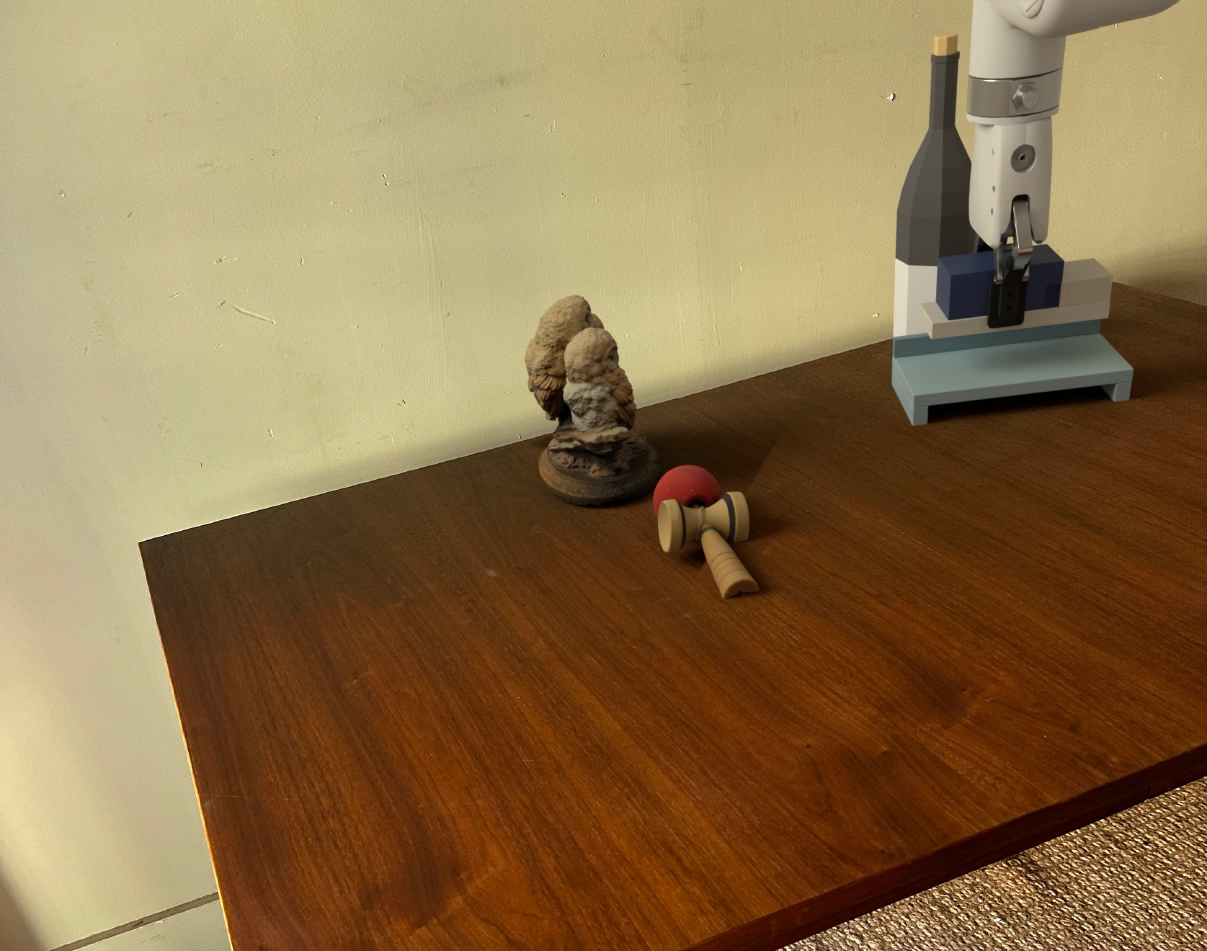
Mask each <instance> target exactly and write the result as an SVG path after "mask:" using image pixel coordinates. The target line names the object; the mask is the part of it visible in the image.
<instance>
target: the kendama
mask: <svg viewBox="0 0 1207 951" xmlns="http://www.w3.org/2000/svg"><path fill="white" fill-rule="evenodd" d="M652 507H653V512H654V515H655V517H656V519H657V529H658V537H659V542H660V546H661V549H662V550H663V552H664V553H666V554H677V553H679V551H681V549H683V548H684V546H686V545H687V544H688V543H690V542H693V541H697V542H701V546H702V549H703V553H704V556H705V559H706V562H707V564H708V567H709V569H710V571H711V574H712V577H713V579H714V581H715V583H716V585H717V588H718V589H719V592H720V595H721V598H722V599H723V600H726V599H728V598H730V597H733V596H735V595H738V593H739V594H741V593H743V594H744V593H749V592H750V593H751V592H753V593H755V592H756V593H757V592H760V587H759V585H758V583H757V581H755V579H754V578H753V576H751V574H750V573H749V571H748V570H747V569H746V567H745V566H744V564H743V563H742V561H741V560H740V559H739V557H738V556H737V554H736V552H734V550H733V549H732V548H731V546H730V545H729V543H728V542H731V543H740V542H745V541H747V540H748V539H749V534H750V512H749V506H748V504H747V499H746V497H745V496H744V494H743V493H742V492H741V491H727V492H725V493H724V494H723V493H722V490H721V486H720V484H719V483H718V480H717V479H716V478H715V477H714V475H713V474H712V473H711V472H710V471H708V470H707V469H705V468H703V467H701V466H697V465H693V464H684V465H679V466H676V467H674V468H672V469H670V470H669V471H667V472H666V473H664V474H663V476H662V477H661V478H659V480H658V481H657V483H656V485H655V489H654V492H653V498H652Z"/></svg>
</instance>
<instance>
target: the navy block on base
mask: <svg viewBox="0 0 1207 951" xmlns="http://www.w3.org/2000/svg"><path fill="white" fill-rule="evenodd" d="M1008 256H1012V252H1006V253H1003V266H1004V264H1005V261H1006V259H1007V257H1008ZM1029 260H1030V265H1029V277H1028V283H1027V293H1026V304H1025V314H1024V322H1023V323H1022V324H1021V325H1018V326H1010V327H1001V328H993V329H991V328H989V327H988V325H987V315H988V302H989V289H990V282H994V251H987V252H979V253H971V254H963V255H956V256H948V257H940V258H938V264H937V284H936V301H934V302H926V303H920V304H919V320H920V322H921V323H922V325H923V327H924V328H925V330H926V331H927V333H928V335H929V336H930V338H931V339H940V338H949V337H957V336H965V335H973V334H981V333H989V332H998V331H1006V330H1014V329H1022V328H1030V327H1038V326H1047V325H1055V324H1063V323H1071V322H1079V321H1087V320H1096V319H1101V320H1103V319H1109V315H1110V307H1111V295H1112V289H1113V283H1114V282H1113V280H1114V274H1112V273H1111V272H1110V271H1109V270H1108V269H1107V268H1106V267H1105V266H1103V265H1102V264H1101V263H1100V262H1099V261H1098V260H1097V259H1096V258H1095V257H1091V258H1082V259H1076V260H1068V261H1067V260H1066V261H1065V259H1063V258H1062V257H1061V256H1060V254H1058V253H1057V252H1056V251H1055V250H1054V249H1053V248H1052V247H1051V246H1050V245H1049V244H1048V243H1042V244H1035V245H1034V244H1033V252H1032V255H1031V257H1030V259H1029Z"/></svg>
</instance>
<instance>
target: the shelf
mask: <svg viewBox="0 0 1207 951" xmlns="http://www.w3.org/2000/svg"><path fill="white" fill-rule="evenodd" d="M1101 325H1102V319H1096V320H1087V321H1079V322H1071V323H1063V324H1055V325H1047V326H1038V327H1030V328H1022V329H1014V330H1006V331H998V332H989V333H981V334H973V335H965V336H957V337H949V338H940V339H931V338H930V336H929V335H928V333H921V334H913V335H905V336H897V337H893V336H892V357H891V358H892V359H891V361H892V362H891V366H892V367H891V386H892V388H893V390H894V392H895V394H896V396H897V398H898V400H899V402H900V404H901V405H902V408H903V409H904V412H905V414H906V416H907V418H908V420H909V421H910V423H911V425H912V426H921V425H927V424H928V417H929V407H931V406H937V405H945V404H953V403H962V402H971V401H978V400H987V399H995V398H996V399H997V398H1005V397H1013V396H1020V395H1029V394H1037V393H1038V394H1039V393H1047V392H1054V391H1055V392H1056V391H1062V390H1063V391H1064V390H1071V389H1078V388H1079V389H1080V388H1088V387H1095V386H1099V387H1100V388H1101V389H1102V390H1103V391H1104V393H1105V394H1107V396H1108V397H1109V398H1110V400H1112V401H1113V403H1114V402H1115V403H1117V402H1126V401H1130V397H1131V389H1132V384H1133V383H1132V382H1133V377H1134V370H1135V369H1134V367H1132V365H1131V364H1130V363H1129V362H1128V361H1127V360H1126V359H1125V358H1124V357H1123V356H1122V354H1120V353H1119V352H1118V351H1117V350H1116V349H1115V347H1113V346H1112V345H1111V344H1110V342H1108V341H1107V339H1106V338H1105V337H1104V336H1103V335H1102V334H1101V328H1102V327H1101Z"/></svg>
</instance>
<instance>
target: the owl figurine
mask: <svg viewBox="0 0 1207 951" xmlns="http://www.w3.org/2000/svg"><path fill="white" fill-rule="evenodd" d="M618 350H619V347H618V342H617V341H616V339H615V338H614V336H613V335H612V333H610V331H608V330H606V329H605V325H604V323H603V321H602V320H601V318H599V316H598V315H597V314H595V313H592V309H591V304H590V303H589V301H588V300H586V299H585V297H584V296H580V295H579V294H577V295H576V294H572V295H567V296H565V297H562V298H560V299H558V300H557V301H555V302H554V303H553V304H552V305H551V306H549V307H548V309H546V310H545V312H544V314H543V315H542V316H541V317H540V318H539V322H538V325H537V328H536V331H535V334H534V337H533V338H531V339H530V340H529V342H528V344H527V346H526V350H525V356H524V363H525V368H526V372H527V376H528V378H527V383H526V384H527V389H528V391H529V392H530V393H533V396H534V399H535V401H536V402H537V404H538V406H539V407H540V408H541V410H543V412H545V417H544V418H545V419H546V420H548V421H552V422H556V420H557V422H558V424H557V425H556V428H555V429H554V433H553V439H552V440H550V442H549V444H548V446H546V448H545V449H544V450H543V451H542V453H541V454H540V456H539V460H538V472H539V478H540V480H541V482H542V484H543V485H544V487H545V488H546V490H547V492H548V493H549V494H551V495H552V496H553V497H555V498H557V499H559V500H561V501H563V502H566V503H569V504H572V505H576V506H588V505H590V504H592V505H593V506H597V505H598V506H599V507H601V506H602V504H608V503H611V502H616V501H620V500H623V499H632V498H637V497H642V496H644V495H645V494H646V493H648V492H650V491H651V490H653V488H654V487H656V485H657V484H658V482H659V479H660V476H661V475H662V473H661V468H662V465H661V457H660V454H659V452H658V450H657V449H656V447H655V446H654V445H653V444H652V443H651V442H650V441H649V440H648V438H647V437H646V436H642V435H641V434H640V433H639V432H638V430H637V429H636V428H635V427H634V425H635V423H636V412H637V411H638V409H637V404H636V403H635V396H634V393H633V392H634V389H633V385H632V383H631V382H630V380H629V377H628V375H627V374H626V370H625V369H623V368H622V367H621V366H620V364H619V361H620V355H619V352H618ZM596 455H601V456H603V457H602V458H601V457H598V456H596Z"/></svg>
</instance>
